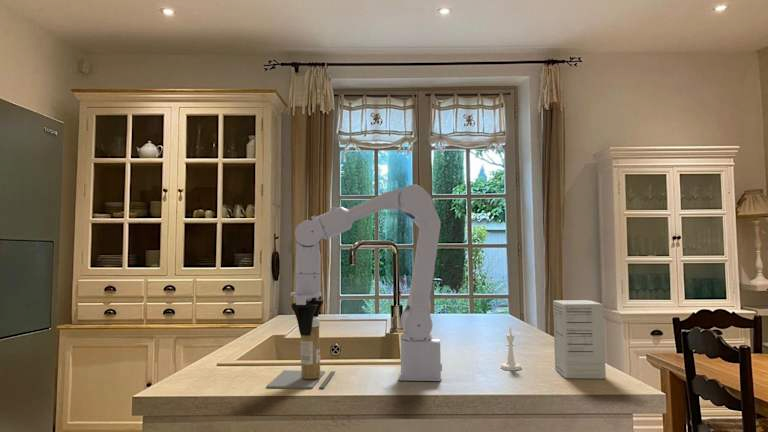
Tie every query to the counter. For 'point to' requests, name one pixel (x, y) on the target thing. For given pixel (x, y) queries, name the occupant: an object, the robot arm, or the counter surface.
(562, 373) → the supplement box
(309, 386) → the mat
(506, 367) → the chess piece
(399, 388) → the counter surface
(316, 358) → the sprinkles bottle
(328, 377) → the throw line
